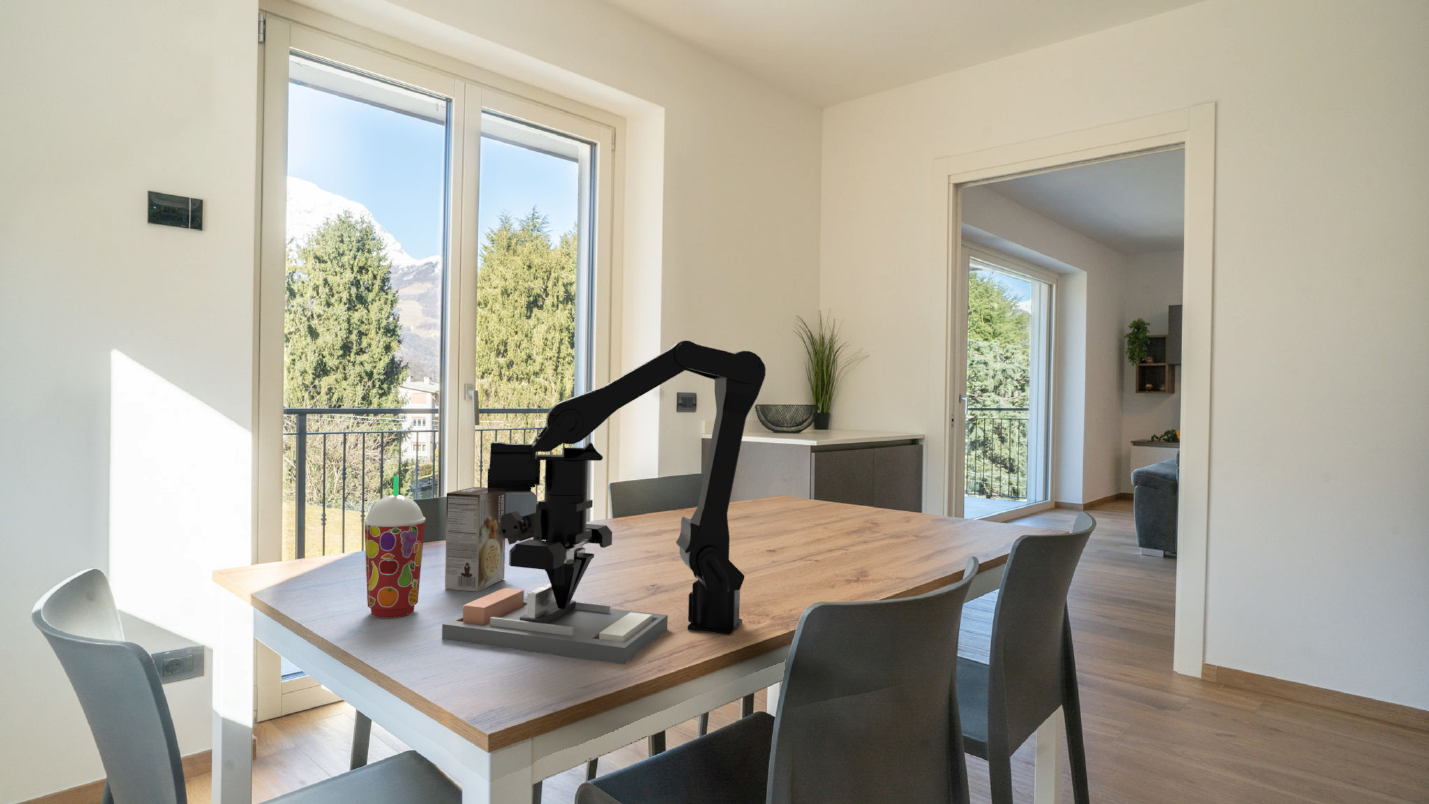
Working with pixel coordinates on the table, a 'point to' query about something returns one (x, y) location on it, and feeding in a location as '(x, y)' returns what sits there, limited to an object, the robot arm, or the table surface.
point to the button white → (626, 627)
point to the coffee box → (474, 539)
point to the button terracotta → (493, 606)
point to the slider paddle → (544, 606)
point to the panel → (559, 633)
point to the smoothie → (393, 555)
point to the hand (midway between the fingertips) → (562, 608)
